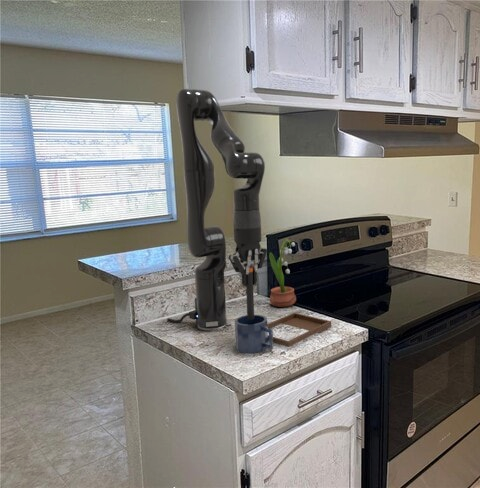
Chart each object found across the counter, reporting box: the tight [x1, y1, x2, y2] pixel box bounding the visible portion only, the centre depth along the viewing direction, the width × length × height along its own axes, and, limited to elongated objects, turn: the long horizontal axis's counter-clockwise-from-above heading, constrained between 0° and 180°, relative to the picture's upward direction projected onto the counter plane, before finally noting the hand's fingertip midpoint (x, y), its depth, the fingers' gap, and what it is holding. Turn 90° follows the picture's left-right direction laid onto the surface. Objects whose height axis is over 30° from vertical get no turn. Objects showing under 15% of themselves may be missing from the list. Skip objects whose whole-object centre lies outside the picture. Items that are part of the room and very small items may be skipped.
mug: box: [234, 314, 274, 355], centre depth 142 cm, size 13×9×9 cm
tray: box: [267, 312, 332, 348], centre depth 157 cm, size 16×22×2 cm
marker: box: [245, 267, 255, 320], centre depth 141 cm, size 2×2×15 cm
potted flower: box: [268, 238, 297, 308], centre depth 183 cm, size 12×10×25 cm
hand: (249, 285), depth 140 cm, fingers closed on marker, 2 cm apart
